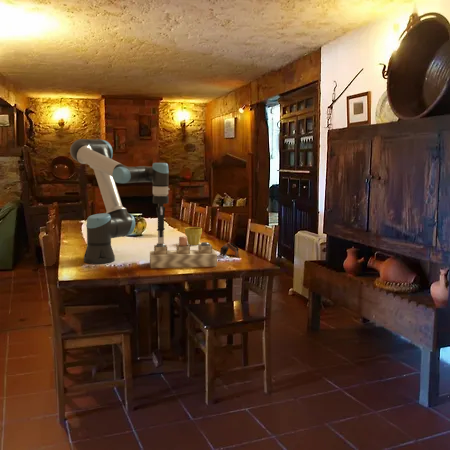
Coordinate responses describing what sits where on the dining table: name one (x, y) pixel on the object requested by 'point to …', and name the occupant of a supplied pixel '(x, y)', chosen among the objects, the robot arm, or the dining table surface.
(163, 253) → the beige long block
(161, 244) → the knob near
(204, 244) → the knob far
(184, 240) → the knob middle
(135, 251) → the dining table surface
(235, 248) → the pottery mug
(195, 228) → the plant pot
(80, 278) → the dining table surface
